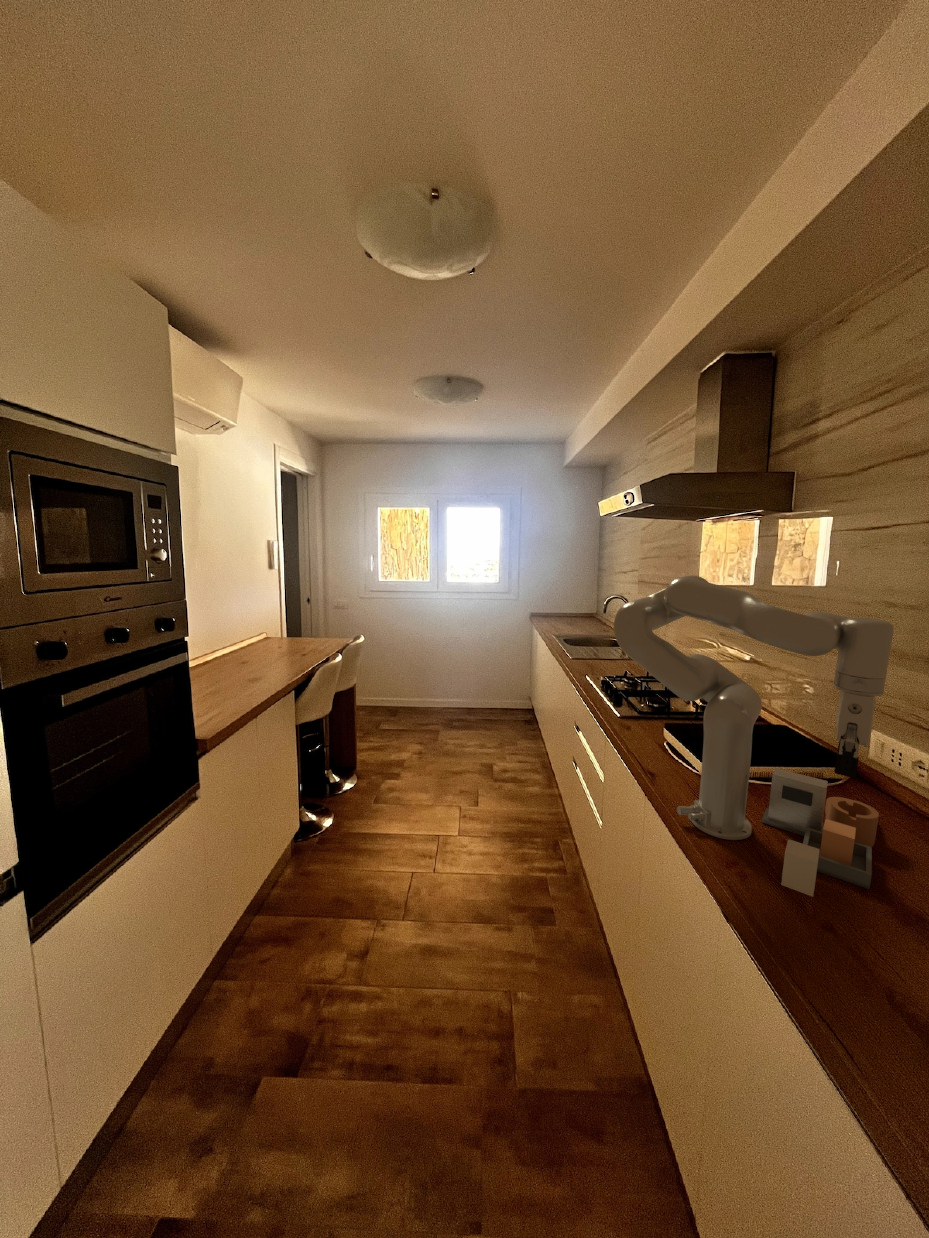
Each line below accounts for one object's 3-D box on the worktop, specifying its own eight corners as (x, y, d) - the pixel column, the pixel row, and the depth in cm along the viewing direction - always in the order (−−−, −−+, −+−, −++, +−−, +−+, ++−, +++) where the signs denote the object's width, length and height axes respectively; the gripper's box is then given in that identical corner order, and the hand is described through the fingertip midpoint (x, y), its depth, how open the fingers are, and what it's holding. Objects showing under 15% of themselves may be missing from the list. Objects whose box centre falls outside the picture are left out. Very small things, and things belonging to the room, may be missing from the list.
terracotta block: (818, 860, 99) (823, 829, 98) (821, 849, 103) (825, 818, 102) (850, 871, 96) (854, 839, 95) (851, 859, 100) (855, 827, 99)
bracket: (876, 853, 103) (881, 822, 102) (828, 839, 108) (831, 810, 107) (866, 814, 118) (870, 787, 117) (824, 803, 123) (827, 777, 122)
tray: (799, 865, 99) (800, 851, 99) (805, 839, 107) (806, 827, 107) (869, 889, 92) (871, 875, 92) (869, 860, 101) (871, 847, 100)
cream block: (781, 884, 93) (785, 851, 92) (784, 871, 97) (788, 839, 96) (813, 896, 90) (817, 862, 89) (815, 882, 94) (819, 849, 93)
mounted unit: (761, 822, 114) (766, 774, 112) (765, 811, 118) (771, 765, 117) (825, 842, 106) (832, 791, 104) (827, 830, 111) (833, 780, 109)
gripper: (885, 698, 85) (870, 789, 88) (883, 676, 98) (870, 757, 101) (831, 689, 90) (818, 776, 92) (836, 669, 103) (825, 746, 106)
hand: (845, 766), depth 97 cm, fingers open, 9 cm apart
